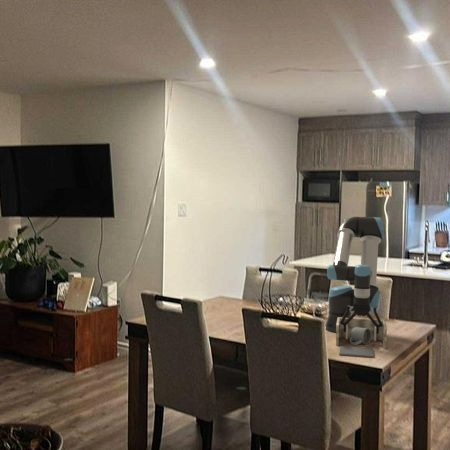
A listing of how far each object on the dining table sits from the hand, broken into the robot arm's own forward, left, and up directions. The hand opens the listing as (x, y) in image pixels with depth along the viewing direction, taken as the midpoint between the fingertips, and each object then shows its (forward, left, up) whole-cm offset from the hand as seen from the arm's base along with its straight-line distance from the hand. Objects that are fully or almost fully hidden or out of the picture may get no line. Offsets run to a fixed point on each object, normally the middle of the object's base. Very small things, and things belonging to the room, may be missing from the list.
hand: (360, 339), depth 278 cm
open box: (0, +1, -2) cm, 2 cm away
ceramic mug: (-1, -1, -2) cm, 2 cm away
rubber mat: (-2, -18, -2) cm, 19 cm away
